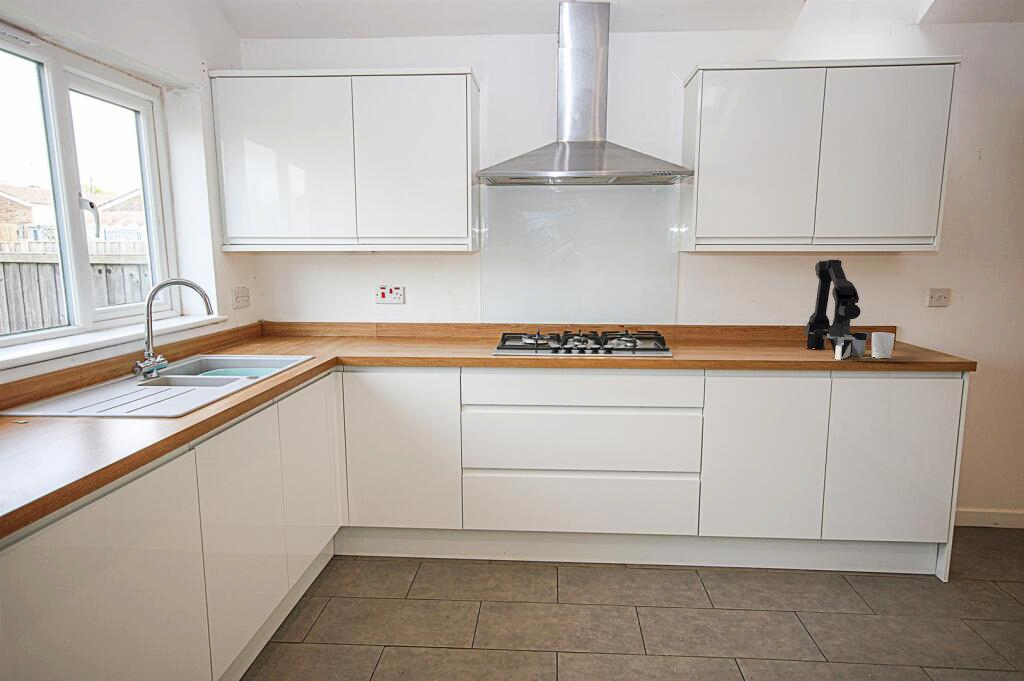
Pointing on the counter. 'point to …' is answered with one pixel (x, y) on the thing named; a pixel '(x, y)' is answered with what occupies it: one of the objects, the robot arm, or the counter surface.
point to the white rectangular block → (839, 352)
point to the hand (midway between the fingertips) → (839, 355)
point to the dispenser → (855, 346)
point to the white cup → (882, 344)
